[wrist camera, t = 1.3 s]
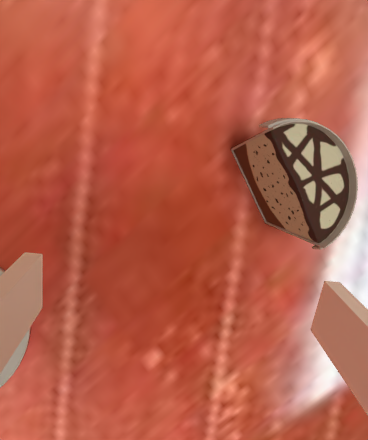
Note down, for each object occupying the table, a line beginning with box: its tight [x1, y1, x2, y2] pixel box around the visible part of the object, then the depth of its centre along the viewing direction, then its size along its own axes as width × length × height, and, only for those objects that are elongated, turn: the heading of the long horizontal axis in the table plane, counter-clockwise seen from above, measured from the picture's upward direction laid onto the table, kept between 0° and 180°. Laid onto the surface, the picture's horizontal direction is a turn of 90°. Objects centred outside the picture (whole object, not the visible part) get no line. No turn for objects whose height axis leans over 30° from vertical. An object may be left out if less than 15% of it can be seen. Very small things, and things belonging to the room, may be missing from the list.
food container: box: [231, 118, 358, 249], centre depth 33 cm, size 12×6×10 cm, turn 28°
